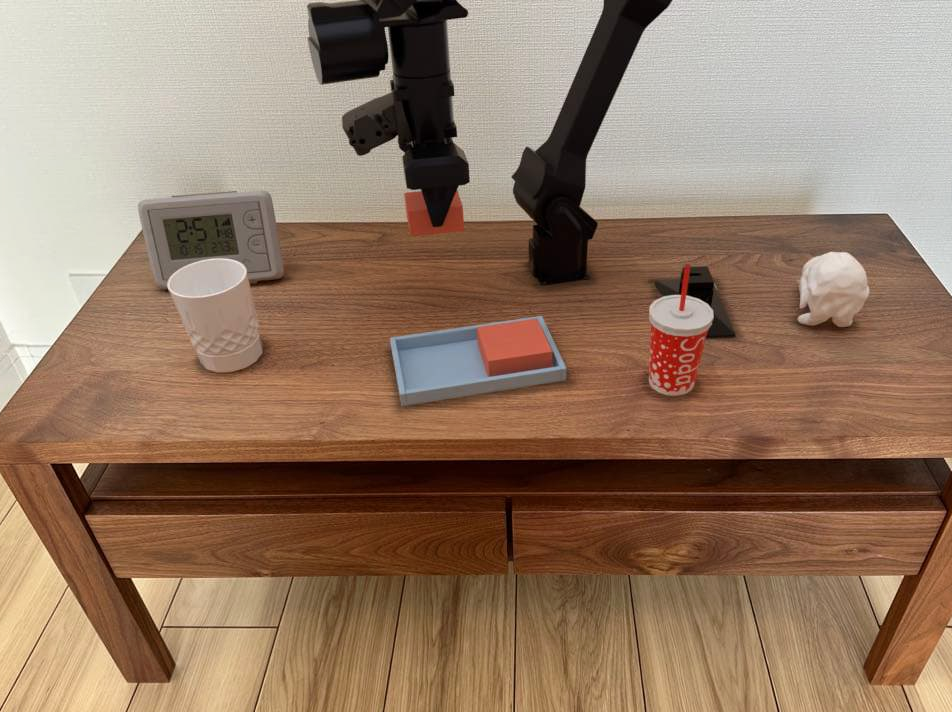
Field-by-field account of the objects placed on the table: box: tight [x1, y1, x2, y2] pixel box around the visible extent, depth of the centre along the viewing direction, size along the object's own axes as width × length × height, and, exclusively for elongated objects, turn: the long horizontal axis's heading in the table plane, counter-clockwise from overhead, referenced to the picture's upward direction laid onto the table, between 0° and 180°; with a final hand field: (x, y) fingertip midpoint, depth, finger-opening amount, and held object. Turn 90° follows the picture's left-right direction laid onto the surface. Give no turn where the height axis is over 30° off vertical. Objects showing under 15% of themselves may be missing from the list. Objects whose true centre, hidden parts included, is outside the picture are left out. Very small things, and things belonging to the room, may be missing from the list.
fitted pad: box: [477, 319, 552, 377], centre depth 81 cm, size 7×6×2 cm
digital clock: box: [137, 190, 285, 290], centre depth 95 cm, size 16×9×11 cm, turn 86°
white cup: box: [167, 258, 263, 374], centre depth 81 cm, size 8×8×10 cm
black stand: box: [654, 265, 737, 339], centre depth 88 cm, size 12×7×5 cm, turn 1°
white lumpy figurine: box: [796, 251, 870, 328], centre depth 86 cm, size 6×8×12 cm
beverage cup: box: [648, 263, 714, 397], centre depth 74 cm, size 6×6×14 cm
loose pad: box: [403, 189, 465, 237], centre depth 85 cm, size 6×5×3 cm
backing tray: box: [389, 315, 568, 407], centre depth 81 cm, size 17×10×2 cm, turn 103°
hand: (434, 215), depth 85 cm, fingers closed on loose pad, 5 cm apart
